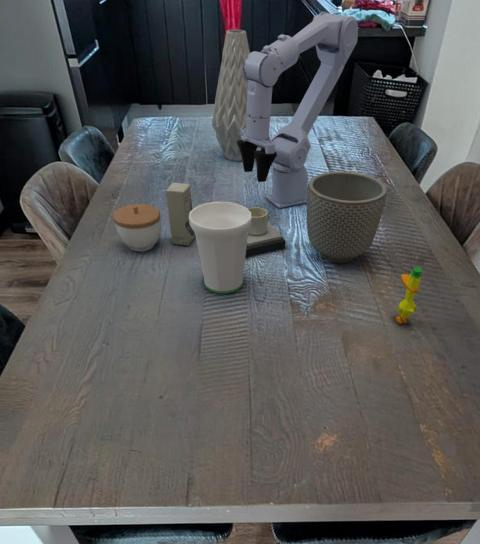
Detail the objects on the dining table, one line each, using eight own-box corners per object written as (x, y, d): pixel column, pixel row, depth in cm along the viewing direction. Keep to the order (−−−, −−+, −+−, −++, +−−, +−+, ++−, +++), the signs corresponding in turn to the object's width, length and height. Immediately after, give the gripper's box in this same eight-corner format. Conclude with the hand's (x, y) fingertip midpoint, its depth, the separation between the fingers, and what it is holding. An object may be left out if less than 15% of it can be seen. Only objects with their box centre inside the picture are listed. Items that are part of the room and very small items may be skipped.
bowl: (260, 223, 118) (260, 205, 115) (271, 233, 115) (271, 214, 111) (240, 228, 116) (240, 209, 113) (250, 238, 113) (250, 219, 110)
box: (189, 246, 115) (183, 192, 106) (171, 244, 116) (164, 190, 106) (195, 236, 119) (190, 183, 109) (178, 234, 119) (172, 181, 110)
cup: (230, 305, 98) (227, 235, 87) (183, 287, 103) (175, 218, 92) (262, 279, 106) (263, 211, 95) (217, 263, 110) (213, 196, 99)
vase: (273, 154, 159) (277, 30, 136) (245, 169, 150) (244, 38, 126) (232, 144, 165) (229, 23, 141) (203, 158, 156) (194, 31, 132)
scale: (263, 227, 123) (263, 216, 121) (285, 248, 116) (286, 237, 114) (220, 236, 119) (219, 225, 117) (240, 258, 112) (240, 247, 110)
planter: (290, 244, 117) (294, 176, 105) (350, 232, 122) (361, 166, 110) (322, 279, 106) (331, 208, 95) (387, 265, 111) (403, 195, 100)
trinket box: (172, 239, 117) (167, 201, 111) (151, 259, 110) (144, 220, 104) (133, 231, 120) (126, 193, 113) (110, 251, 113) (101, 212, 106)
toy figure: (386, 311, 98) (399, 258, 90) (402, 309, 99) (416, 256, 90) (399, 331, 94) (415, 277, 85) (416, 328, 95) (433, 275, 86)
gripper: (230, 108, 115) (228, 168, 125) (257, 124, 107) (253, 187, 116) (255, 107, 118) (252, 166, 128) (284, 123, 109) (278, 184, 119)
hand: (254, 176), depth 122 cm, fingers open, 7 cm apart
